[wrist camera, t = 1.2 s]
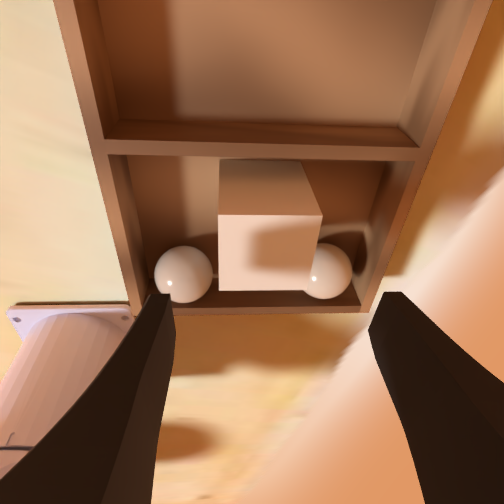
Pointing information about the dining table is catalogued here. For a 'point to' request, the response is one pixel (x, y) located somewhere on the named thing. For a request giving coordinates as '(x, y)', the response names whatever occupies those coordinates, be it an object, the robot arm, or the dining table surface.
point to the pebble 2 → (329, 272)
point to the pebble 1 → (183, 274)
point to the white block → (265, 225)
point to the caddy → (263, 121)
